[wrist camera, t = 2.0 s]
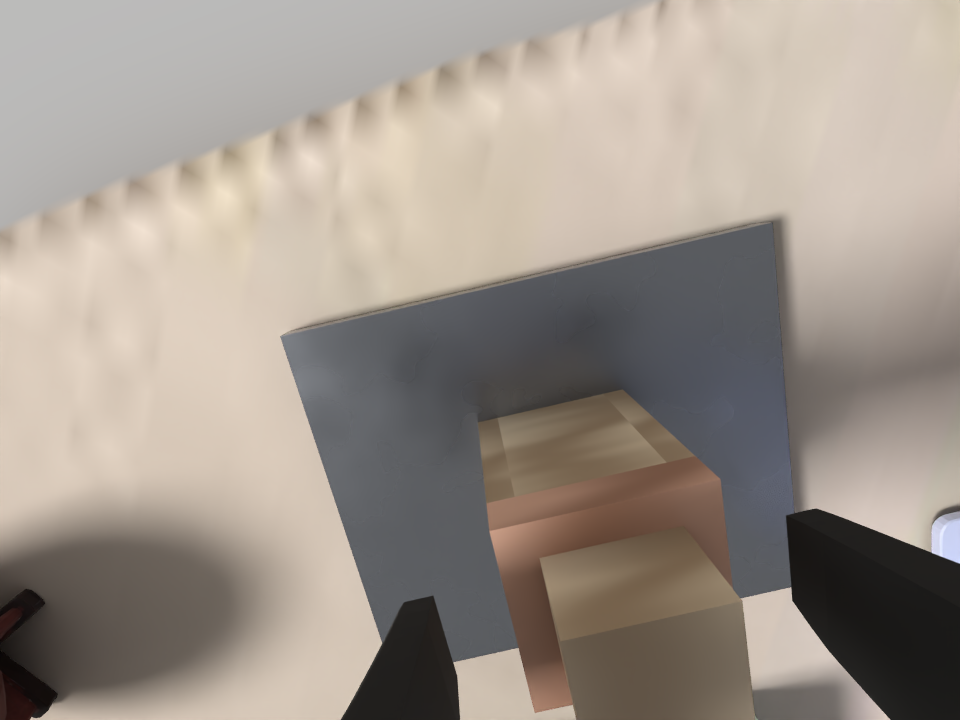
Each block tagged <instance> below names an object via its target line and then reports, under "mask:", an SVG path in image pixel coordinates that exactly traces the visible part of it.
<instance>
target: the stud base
mask: <svg viewBox="0 0 960 720" xmlns="http://www.w3.org/2000/svg"><path fill="white" fill-rule="evenodd" d="M280 337H281V340H282V343H283V346H284V349H285V352H286V355H287V358H288V361H289V364H290V367H291V370H292V373H293V376H294V379H295V382H296V385H297V388H298V391H299V394H300V397H301V400H302V403H303V406H304V409H305V412H306V415H307V418H308V421H309V424H310V427H311V430H312V433H313V436H314V439H315V442H316V445H317V448H318V451H319V454H320V457H321V460H322V463H323V466H324V469H325V472H326V475H327V478H328V481H329V484H330V487H331V490H332V493H333V496H334V499H335V502H336V505H337V508H338V511H339V514H340V517H341V520H342V523H343V526H344V529H345V532H346V535H347V538H348V541H349V544H350V547H351V550H352V553H353V556H354V559H355V562H356V565H357V568H358V571H359V574H360V577H361V580H362V583H363V586H364V589H365V592H366V595H367V598H368V601H369V604H370V607H371V610H372V613H373V616H374V619H375V622H376V625H377V628H378V631H379V634H380V637H381V640H382V643H383V641H384V639H385V637H386V635H387V633H388V631H389V629H390V627H391V625H392V623H393V621H394V619H395V617H396V615H397V613H398V611H399V609H400V607H401V606H402V604H403V603H404V602H407V601H411V600H416V599H420V598H424V597H429V596H434V599H435V603H436V606H437V610H438V613H439V616H440V620H441V623H442V627H443V630H444V633H445V637H446V640H447V644H448V647H449V650H450V654H451V657H452V661H453V662H456V661H461V660H465V659H470V658H474V657H479V656H483V655H488V654H492V653H497V652H501V651H506V650H510V649H515V648H518V644H517V640H516V636H515V632H514V628H513V624H512V620H511V616H510V612H509V608H508V604H507V600H506V596H505V592H504V588H503V584H502V580H501V576H500V572H499V568H498V564H497V560H496V556H495V552H494V548H493V544H492V540H491V536H490V532H489V523H488V514H487V504H486V495H485V485H484V476H483V467H482V457H481V448H480V438H479V429H478V422H482V421H487V420H491V419H495V418H500V417H504V416H508V415H513V414H517V413H522V412H526V411H530V410H535V409H539V408H543V407H548V406H552V405H557V404H561V403H565V402H570V401H574V400H579V399H583V398H587V397H592V396H596V395H600V394H605V393H609V392H614V391H618V390H622V389H623V390H624V391H625V392H626V393H627V394H628V395H629V396H631V397H632V398H633V399H634V400H635V401H636V402H637V403H638V404H639V405H640V406H641V407H643V408H644V409H645V410H646V411H647V412H648V413H649V414H650V415H651V416H652V417H653V418H654V419H656V420H657V421H658V422H659V423H660V424H661V425H662V426H663V427H664V428H665V429H666V430H668V431H669V432H670V433H671V434H672V435H673V436H674V437H675V438H676V439H677V440H678V441H680V442H681V443H682V444H683V445H684V446H685V447H686V448H687V449H688V450H689V451H690V452H691V453H693V454H694V455H695V456H696V457H697V458H698V459H699V460H700V461H701V462H702V463H703V464H705V465H706V466H707V467H708V468H709V469H710V470H711V471H712V472H713V473H714V474H715V475H716V476H718V477H719V478H720V480H721V488H722V497H723V506H724V515H725V523H726V532H727V541H728V549H729V558H730V567H731V576H732V584H733V590H734V591H735V592H736V594H737V595H738V596H739V598H744V597H749V596H753V595H758V594H762V593H767V592H771V591H776V590H780V589H785V588H789V587H791V576H790V563H789V550H788V537H787V524H786V515H790V514H794V503H793V489H792V476H791V463H790V449H789V436H788V423H787V409H786V396H785V383H784V370H783V356H782V343H781V330H780V316H779V303H778V290H777V276H776V263H775V250H774V236H773V223H772V222H770V223H754V224H750V225H746V226H741V227H737V228H733V229H728V230H724V231H720V232H715V233H711V234H707V235H702V236H698V237H694V238H690V239H685V240H681V241H677V242H672V243H668V244H664V245H659V246H655V247H651V248H646V249H642V250H638V251H633V252H629V253H625V254H620V255H616V256H612V257H608V258H603V259H599V260H595V261H590V262H586V263H582V264H577V265H573V266H569V267H564V268H560V269H556V270H551V271H547V272H543V273H538V274H534V275H530V276H526V277H521V278H517V279H513V280H508V281H504V282H500V283H495V284H491V285H487V286H482V287H478V288H474V289H469V290H465V291H461V292H456V293H452V294H448V295H443V296H439V297H435V298H431V299H426V300H422V301H418V302H413V303H409V304H405V305H400V306H396V307H392V308H387V309H383V310H379V311H374V312H370V313H366V314H361V315H357V316H353V317H349V318H344V319H340V320H336V321H331V322H327V323H323V324H318V325H314V326H310V327H305V328H301V329H297V330H292V331H289V332H287V333H285V334H284V335H282V336H280Z"/></svg>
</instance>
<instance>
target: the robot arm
mask: <svg viewBox="0 0 960 720" xmlns="http://www.w3.org/2000/svg"><path fill="white" fill-rule="evenodd" d="M786 524H787V537H788V550H789V563H790V576H791V588H792V601H793V602H794V603H795V605H796V606H797V608H798V609H799V611H800V612H801V613H802V615H803V616H804V618H805V619H806V621H807V622H808V623H809V625H810V626H811V628H812V629H813V630H814V632H815V633H816V634H817V636H818V637H819V638H820V640H821V641H822V642H823V644H824V645H825V646H826V648H827V649H828V650H829V652H830V653H831V654H832V655H833V656H834V657H835V658H836V660H837V661H838V662H839V663H840V664H841V665H842V666H843V668H844V669H845V670H846V671H847V672H848V673H849V674H850V675H851V676H852V678H853V679H854V680H855V681H856V682H857V683H858V684H859V685H860V686H861V688H862V689H863V690H864V691H865V692H866V693H867V694H868V695H869V696H870V698H871V699H872V700H873V701H874V702H875V703H876V704H877V705H878V706H879V707H880V709H881V710H882V711H883V712H884V713H885V714H886V715H887V716H888V717H889V718H890V720H960V511H958V512H954V513H949V514H945V515H943V516H940V517H939V518H938V519H936V520H935V522H934V523H933V525H932V553H931V552H928V551H926V550H923V549H921V548H918V547H915V546H913V545H910V544H908V543H905V542H903V541H900V540H898V539H895V538H893V537H890V536H888V535H885V534H883V533H880V532H877V531H875V530H872V529H870V528H867V527H865V526H862V525H860V524H857V523H855V522H852V521H849V520H847V519H844V518H842V517H839V516H836V515H833V514H831V513H828V512H825V511H822V510H819V509H812V510H807V511H803V512H798V513H794V514H790V515H786ZM341 720H460V713H459V697H458V682H457V674H456V671H455V667H454V664H453V661H452V657H451V654H450V650H449V647H448V644H447V640H446V637H445V633H444V630H443V627H442V623H441V620H440V616H439V613H438V610H437V606H436V603H435V599H434V596H429V597H424V598H420V599H416V600H411V601H407V602H404V603H403V604H402V606H401V607H400V609H399V611H398V613H397V615H396V617H395V619H394V621H393V623H392V625H391V627H390V629H389V631H388V633H387V635H386V637H385V639H384V641H383V643H382V645H381V647H380V649H379V651H378V653H377V655H376V657H375V659H374V661H373V663H372V665H371V667H370V668H369V670H368V672H367V674H366V676H365V678H364V679H363V681H362V683H361V685H360V687H359V689H358V691H357V692H356V694H355V696H354V698H353V700H352V701H351V703H350V705H349V707H348V708H347V710H346V712H345V714H344V715H343V717H342V719H341Z"/></svg>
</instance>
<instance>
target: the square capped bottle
mask: <svg viewBox="0 0 960 720" xmlns="http://www.w3.org/2000/svg"><path fill="white" fill-rule="evenodd" d="M478 429H479V438H480V448H481V457H482V467H483V476H484V485H485V495H486V504H487V514H488V523H489V532H490V536H491V540H492V544H493V548H494V552H495V556H496V560H497V564H498V568H499V572H500V576H501V580H502V584H503V588H504V592H505V596H506V600H507V604H508V608H509V612H510V616H511V620H512V624H513V628H514V632H515V636H516V640H517V644H518V648H519V652H520V656H521V660H522V663H523V667H524V671H525V675H526V679H527V683H528V687H529V691H530V695H531V699H532V703H533V707H534V711H535V713H536V712H541V711H545V710H550V709H555V708H559V707H564V706H568V705H573V707H574V711H575V715H576V719H577V720H755V713H754V704H753V694H752V685H751V676H750V667H749V658H748V649H747V640H746V631H745V622H744V613H743V604H742V600H741V599H740V598H739V596H738V595H737V594H736V592H735V591H734V590H733V584H732V576H731V567H730V558H729V549H728V541H727V532H726V523H725V515H724V506H723V497H722V488H721V480H720V478H719V477H718V476H716V475H715V474H714V473H713V472H712V471H711V470H710V469H709V468H708V467H707V466H706V465H705V464H703V463H702V462H701V461H700V460H699V459H698V458H697V457H696V456H695V455H694V454H693V453H691V452H690V451H689V450H688V449H687V448H686V447H685V446H684V445H683V444H682V443H681V442H680V441H678V440H677V439H676V438H675V437H674V436H673V435H672V434H671V433H670V432H669V431H668V430H666V429H665V428H664V427H663V426H662V425H661V424H660V423H659V422H658V421H657V420H656V419H654V418H653V417H652V416H651V415H650V414H649V413H648V412H647V411H646V410H645V409H644V408H643V407H641V406H640V405H639V404H638V403H637V402H636V401H635V400H634V399H633V398H632V397H631V396H629V395H628V394H627V393H626V392H625V391H624V390H623V389H622V390H618V391H614V392H609V393H605V394H600V395H596V396H592V397H587V398H583V399H579V400H574V401H570V402H565V403H561V404H557V405H552V406H548V407H543V408H539V409H535V410H530V411H526V412H522V413H517V414H513V415H508V416H504V417H500V418H495V419H491V420H487V421H482V422H478Z"/></svg>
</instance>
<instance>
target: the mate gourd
mask: <svg viewBox="0 0 960 720" xmlns="http://www.w3.org/2000/svg"><path fill="white" fill-rule="evenodd" d="M44 604H45V602H44V600H43V599H42V598H41V597H40V596H38V595H37V594H36V593H34V592H33V591H31V590H28V589H26V590H24V591H23V592H22V593H20V594H19V595H17V596H16V597H15V598H14V599H13V600H11V601H10V602H9V603H8V604H6V605H5V606H4V607H3V608H2V609H1V610H0V644H1V643H2V642H3V641H5V640H6V639H7V638H8V637H9V636H10V635H11V634H12V633H13V632H14V631H15V630H17V629H18V628H19V627H20V626H21V625H22V624H23V623H25V622H26V621H27V620H28V619H29V618H30V617H32V616H33V615H34V614H35V613H36V612H37V611H38V610H39V609H40V608H41V607H42V606H43V605H44ZM56 698H57V693H56V692H55V691H53V690H52V689H51V688H50V687H48V686H47V685H46V684H44V683H43V682H42V681H40V680H39V679H38V678H36V677H35V676H33V675H32V674H31V673H29V672H28V671H27V670H25V669H24V668H22V667H21V666H20V665H18V664H17V663H16V662H14V661H13V660H12V659H10V658H9V657H8V656H7V655H5V654H4V653H3V652H1V651H0V720H30V718H31V717H33V718H40V717H41V716H42V715H44V714H45V713H46V712H47V711H48V710H49V708H50V706H51V705H52V703H53V701H54V700H55V699H56Z"/></svg>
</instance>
